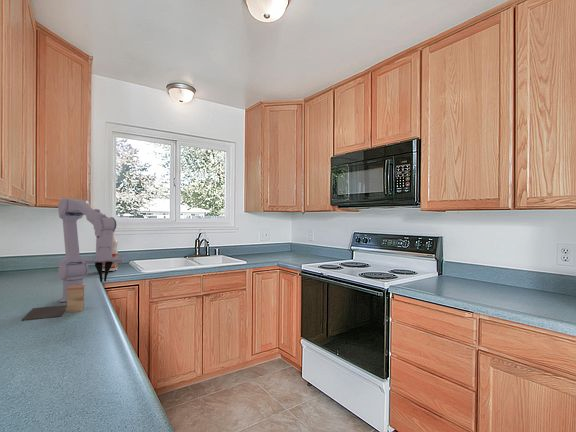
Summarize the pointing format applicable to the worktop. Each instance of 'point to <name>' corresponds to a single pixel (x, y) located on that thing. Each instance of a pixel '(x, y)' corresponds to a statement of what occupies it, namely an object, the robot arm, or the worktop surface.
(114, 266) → the fruit juice
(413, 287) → the worktop surface
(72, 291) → the maple block
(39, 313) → the rubber mat
